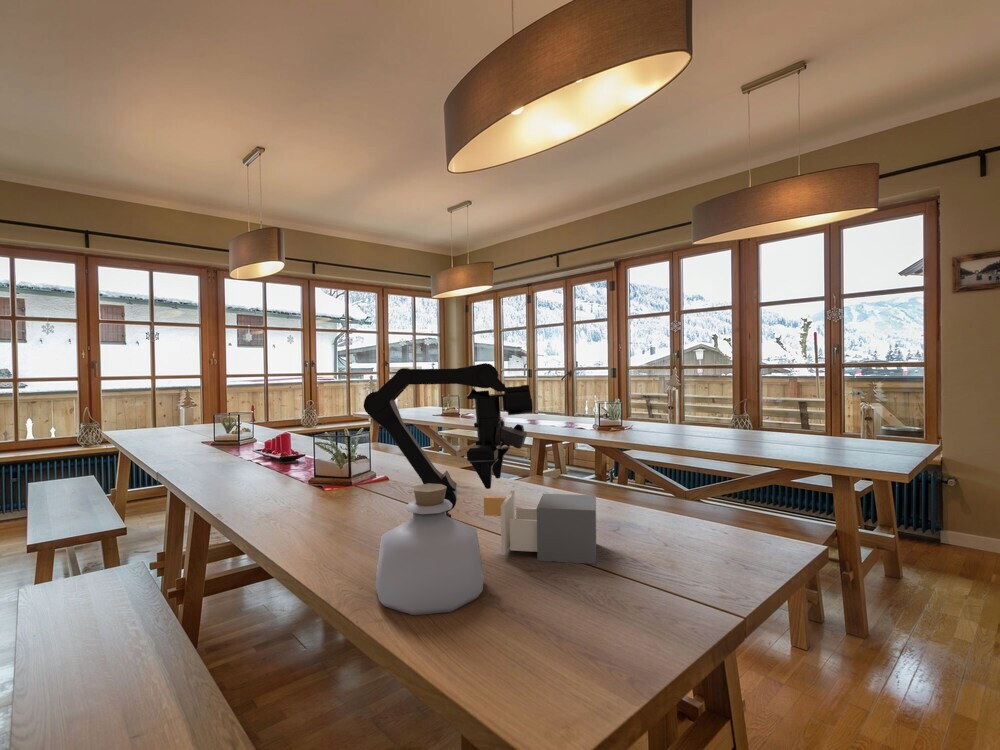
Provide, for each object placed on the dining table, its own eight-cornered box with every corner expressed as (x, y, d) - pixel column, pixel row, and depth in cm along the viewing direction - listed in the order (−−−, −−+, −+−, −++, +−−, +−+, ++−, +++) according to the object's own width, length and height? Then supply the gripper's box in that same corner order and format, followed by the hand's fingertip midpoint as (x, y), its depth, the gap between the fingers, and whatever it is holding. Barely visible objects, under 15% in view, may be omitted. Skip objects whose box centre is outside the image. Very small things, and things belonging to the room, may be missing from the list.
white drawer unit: (478, 553, 106) (477, 504, 106) (490, 533, 118) (490, 490, 118) (556, 558, 103) (555, 507, 103) (560, 537, 115) (560, 492, 115)
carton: (537, 560, 104) (536, 508, 104) (543, 540, 116) (543, 493, 115) (596, 564, 102) (595, 510, 101) (596, 543, 113) (595, 495, 113)
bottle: (506, 581, 94) (504, 481, 94) (443, 629, 77) (441, 507, 77) (423, 561, 104) (421, 471, 104) (351, 600, 87) (349, 493, 87)
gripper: (513, 421, 105) (519, 494, 106) (529, 410, 123) (533, 473, 124) (463, 423, 108) (469, 494, 108) (486, 412, 126) (490, 473, 127)
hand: (493, 483), depth 117 cm, fingers open, 9 cm apart
